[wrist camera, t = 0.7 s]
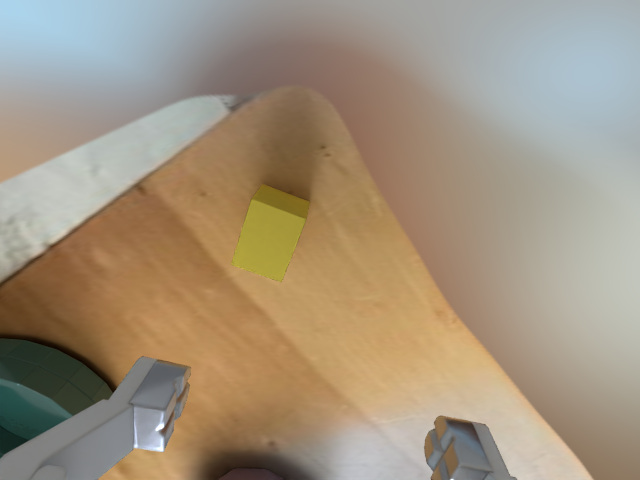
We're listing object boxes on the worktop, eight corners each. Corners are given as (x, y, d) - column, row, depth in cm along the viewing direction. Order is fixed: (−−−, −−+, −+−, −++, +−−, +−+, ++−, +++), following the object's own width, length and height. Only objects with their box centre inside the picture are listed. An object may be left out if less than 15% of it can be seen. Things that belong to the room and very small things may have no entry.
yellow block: (262, 183, 24) (251, 198, 20) (310, 201, 24) (306, 219, 21) (243, 243, 26) (230, 265, 22) (287, 258, 26) (281, 282, 23)
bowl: (-52, 310, 29) (-114, 346, 25) (137, 366, 31) (107, 408, 27) (-38, 427, 36) (-86, 471, 32) (116, 467, 38) (90, 513, 34)
